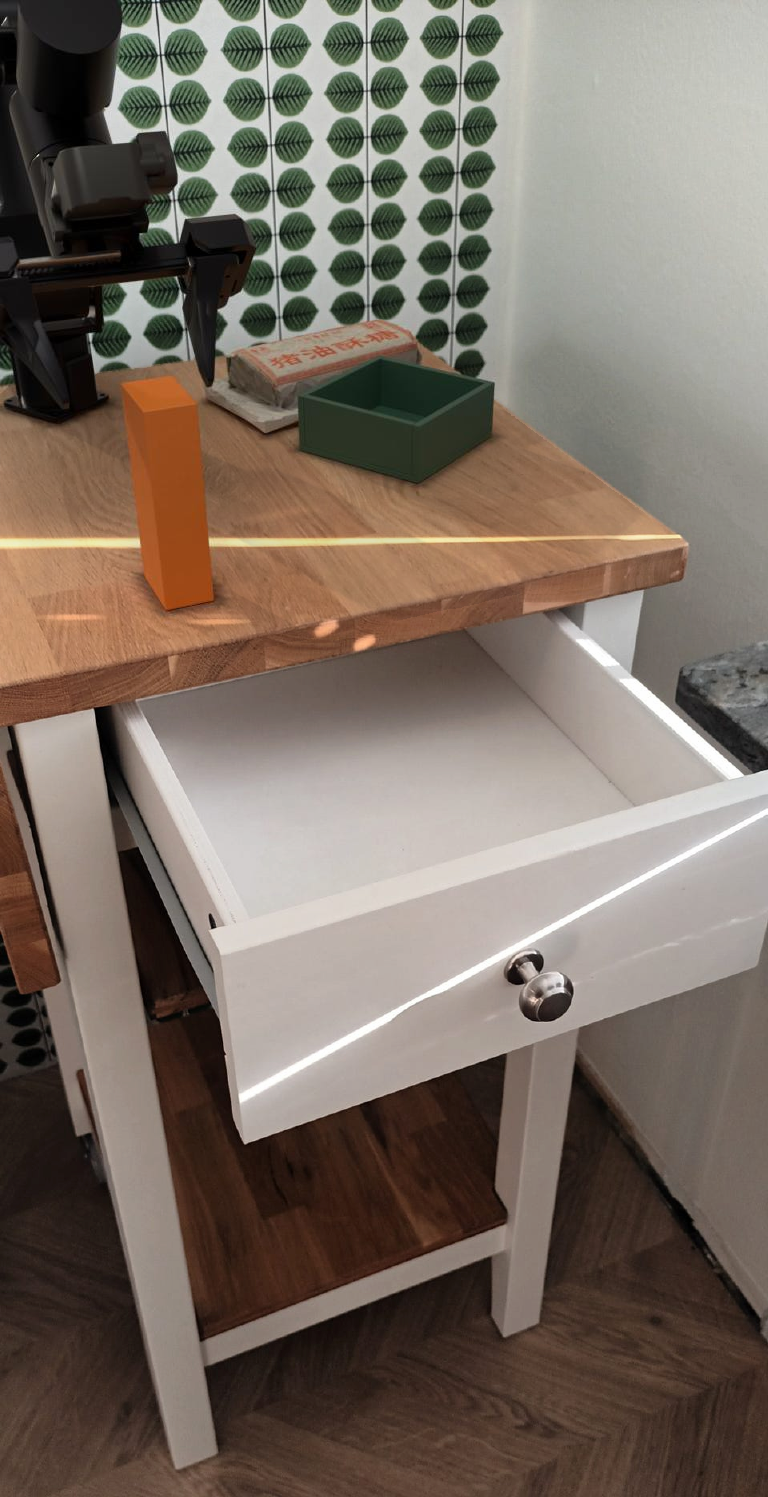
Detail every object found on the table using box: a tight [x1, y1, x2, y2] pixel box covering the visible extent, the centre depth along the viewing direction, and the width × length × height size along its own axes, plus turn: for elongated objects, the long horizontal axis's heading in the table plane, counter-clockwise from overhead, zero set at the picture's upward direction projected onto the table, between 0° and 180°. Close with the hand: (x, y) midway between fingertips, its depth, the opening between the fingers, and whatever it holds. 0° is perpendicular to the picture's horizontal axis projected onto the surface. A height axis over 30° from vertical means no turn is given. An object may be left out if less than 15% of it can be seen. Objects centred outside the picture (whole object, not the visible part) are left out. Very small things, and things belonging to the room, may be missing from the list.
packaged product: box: [202, 319, 423, 434], centre depth 107 cm, size 18×5×10 cm
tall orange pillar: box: [120, 375, 215, 611], centre depth 77 cm, size 5×3×13 cm, turn 24°
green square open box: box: [297, 356, 496, 484], centre depth 99 cm, size 11×11×4 cm
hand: (139, 394), depth 77 cm, fingers open, 9 cm apart
